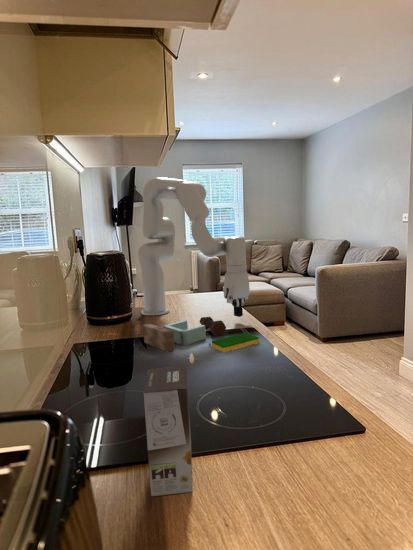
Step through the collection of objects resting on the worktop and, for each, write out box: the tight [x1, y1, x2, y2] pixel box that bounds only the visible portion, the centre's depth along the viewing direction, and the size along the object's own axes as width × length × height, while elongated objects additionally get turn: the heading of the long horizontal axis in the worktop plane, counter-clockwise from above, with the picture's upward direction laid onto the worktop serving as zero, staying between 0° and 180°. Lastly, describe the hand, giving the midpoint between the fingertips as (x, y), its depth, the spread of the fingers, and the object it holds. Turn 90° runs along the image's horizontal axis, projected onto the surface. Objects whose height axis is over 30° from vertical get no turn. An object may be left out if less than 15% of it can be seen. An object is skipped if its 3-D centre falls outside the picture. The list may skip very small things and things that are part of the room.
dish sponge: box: [211, 332, 260, 353], centre depth 120 cm, size 7×14×2 cm, turn 121°
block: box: [162, 319, 207, 346], centre depth 129 cm, size 12×10×4 cm
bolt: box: [199, 316, 227, 337], centre depth 137 cm, size 6×5×15 cm
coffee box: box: [142, 365, 193, 497], centre depth 58 cm, size 9×6×16 cm
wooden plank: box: [142, 323, 175, 353], centre depth 122 cm, size 14×2×6 cm, turn 41°
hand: (238, 315), depth 146 cm, fingers closed
